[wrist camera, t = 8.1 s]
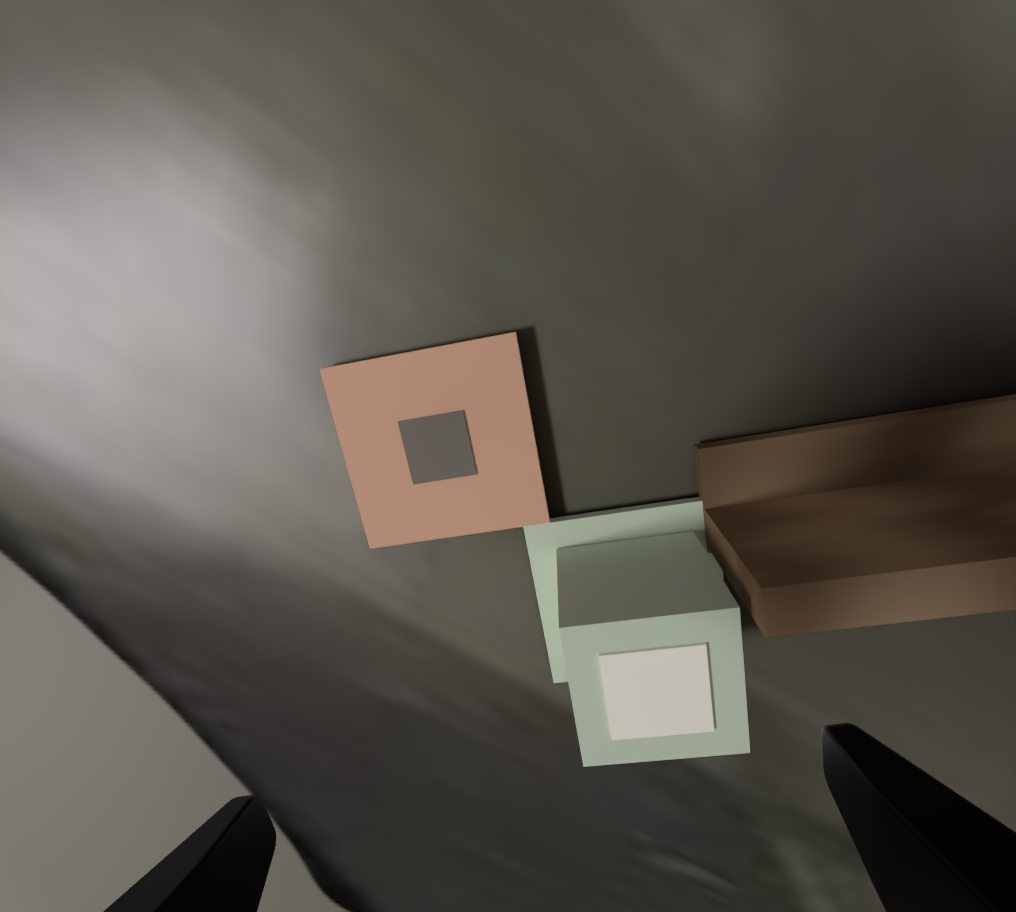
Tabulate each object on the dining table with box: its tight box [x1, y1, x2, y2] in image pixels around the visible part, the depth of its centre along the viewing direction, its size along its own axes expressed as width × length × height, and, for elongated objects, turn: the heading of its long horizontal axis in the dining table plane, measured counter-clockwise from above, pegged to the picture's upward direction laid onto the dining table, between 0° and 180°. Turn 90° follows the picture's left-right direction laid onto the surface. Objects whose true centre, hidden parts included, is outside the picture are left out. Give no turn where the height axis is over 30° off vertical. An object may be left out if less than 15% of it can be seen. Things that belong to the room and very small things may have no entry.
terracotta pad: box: [320, 331, 550, 549], centre depth 20 cm, size 7×7×1 cm
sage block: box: [556, 531, 750, 767], centre depth 18 cm, size 5×5×5 cm
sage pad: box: [523, 497, 724, 683], centre depth 21 cm, size 7×7×1 cm
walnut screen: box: [694, 394, 1016, 638], centre depth 16 cm, size 14×4×6 cm, turn 100°
